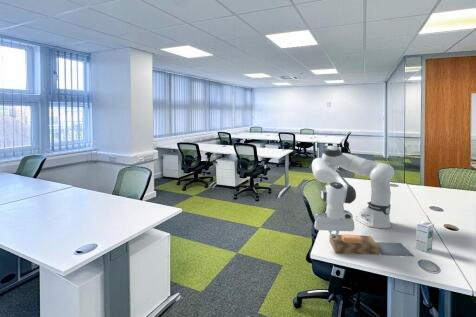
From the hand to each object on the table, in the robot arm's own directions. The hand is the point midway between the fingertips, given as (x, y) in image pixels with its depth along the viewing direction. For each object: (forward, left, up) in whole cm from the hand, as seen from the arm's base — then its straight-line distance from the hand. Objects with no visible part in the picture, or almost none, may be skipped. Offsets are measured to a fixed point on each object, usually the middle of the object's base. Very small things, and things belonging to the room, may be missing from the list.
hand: (333, 237), depth 153 cm
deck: (+5, +9, -5) cm, 12 cm away
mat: (+15, +26, -5) cm, 31 cm away
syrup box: (+22, +41, -5) cm, 47 cm away
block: (+5, +8, -1) cm, 10 cm away
